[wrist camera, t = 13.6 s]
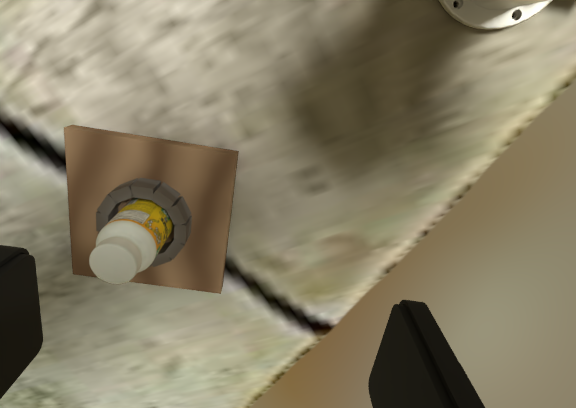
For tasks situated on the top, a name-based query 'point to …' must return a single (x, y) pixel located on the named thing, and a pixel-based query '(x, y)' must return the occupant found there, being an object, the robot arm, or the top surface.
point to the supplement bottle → (130, 241)
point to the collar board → (153, 162)
